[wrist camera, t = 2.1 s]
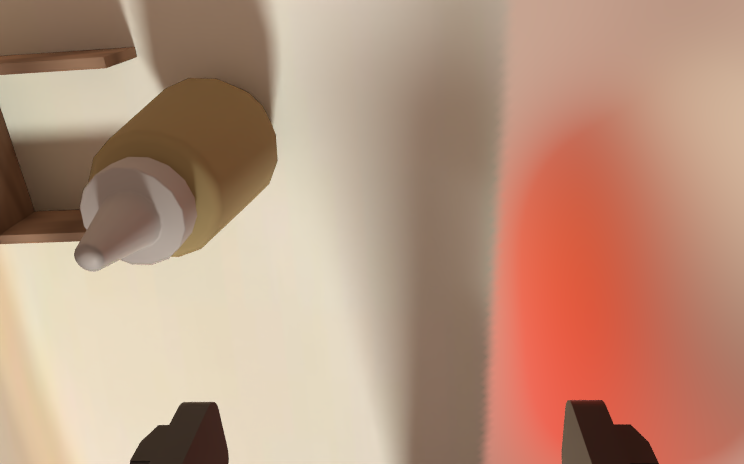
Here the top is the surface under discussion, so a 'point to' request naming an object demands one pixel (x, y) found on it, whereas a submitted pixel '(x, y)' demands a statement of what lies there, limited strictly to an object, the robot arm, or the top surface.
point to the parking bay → (3, 174)
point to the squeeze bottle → (175, 174)
